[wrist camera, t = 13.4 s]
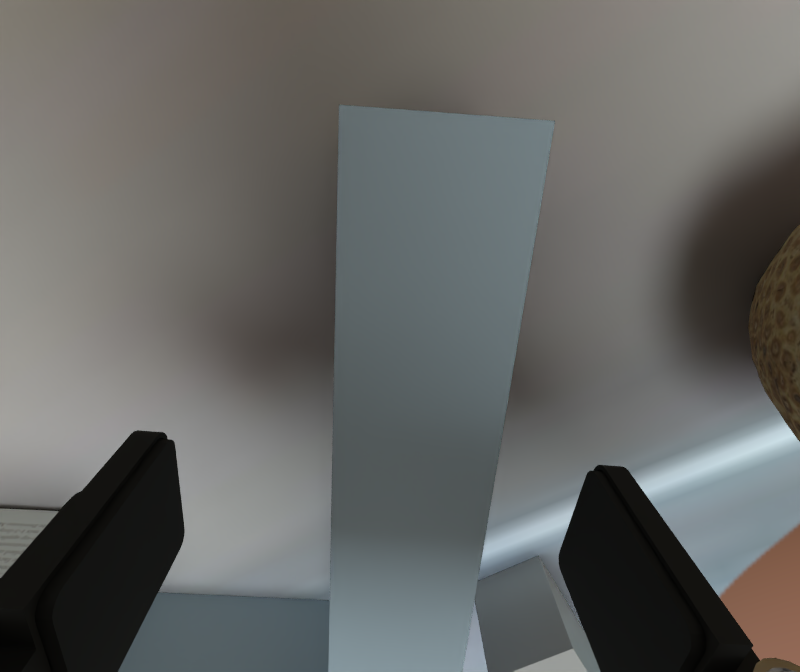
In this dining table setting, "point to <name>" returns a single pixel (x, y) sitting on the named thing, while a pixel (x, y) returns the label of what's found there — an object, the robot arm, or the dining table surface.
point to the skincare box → (19, 532)
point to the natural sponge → (779, 331)
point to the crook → (398, 404)
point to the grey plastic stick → (530, 623)
